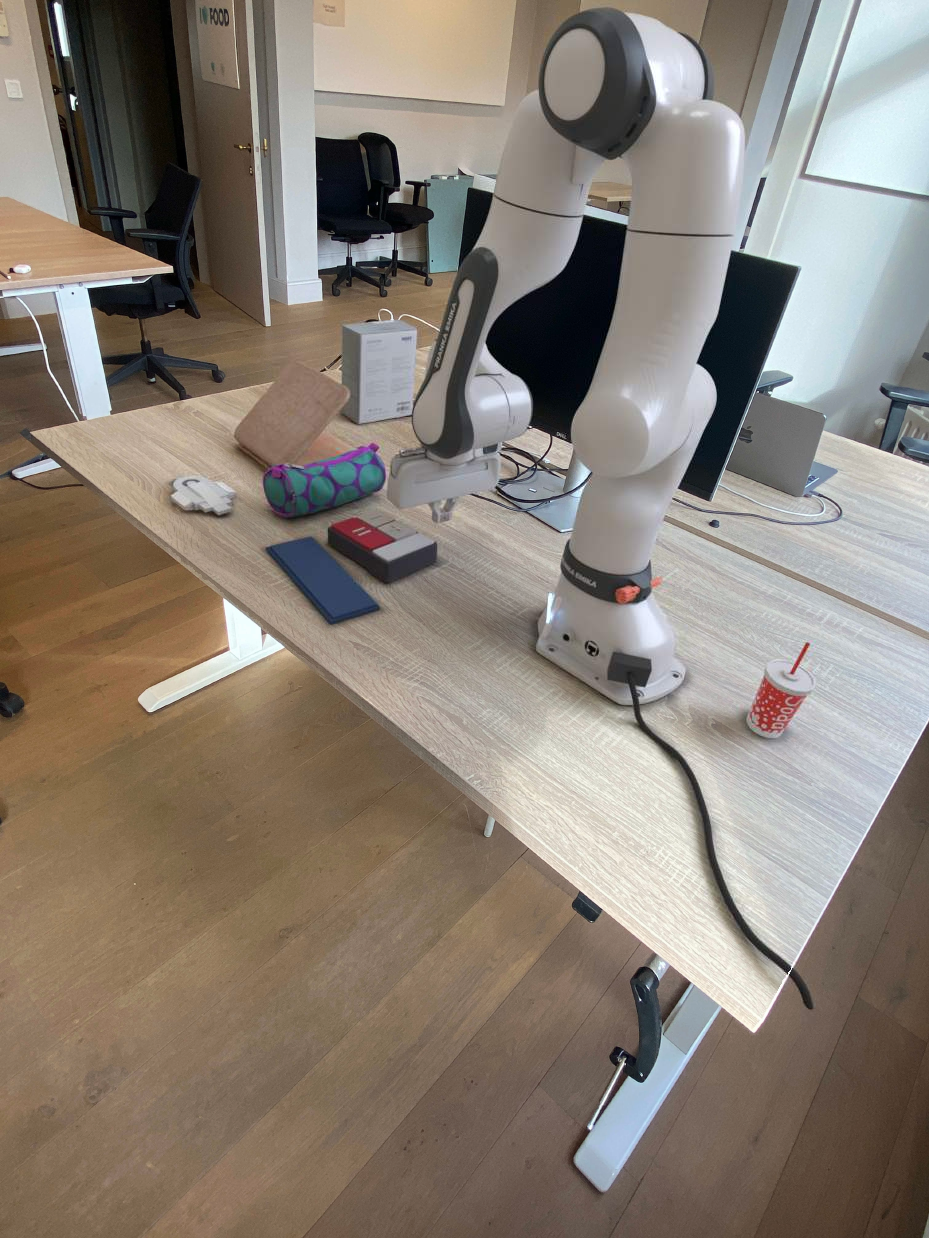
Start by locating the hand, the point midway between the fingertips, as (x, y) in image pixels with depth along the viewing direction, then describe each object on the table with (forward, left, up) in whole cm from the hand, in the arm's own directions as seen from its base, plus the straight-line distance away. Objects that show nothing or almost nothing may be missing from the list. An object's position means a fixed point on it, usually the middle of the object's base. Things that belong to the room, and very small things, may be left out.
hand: (441, 520), depth 117 cm
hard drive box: (+55, -20, -5) cm, 58 cm away
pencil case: (+20, +11, -5) cm, 23 cm away
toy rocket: (+30, +30, -5) cm, 43 cm away
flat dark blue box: (-1, +23, -4) cm, 24 cm away
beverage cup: (-57, -13, -5) cm, 59 cm away
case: (+40, +6, -5) cm, 40 cm away
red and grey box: (+1, +11, -5) cm, 12 cm away
